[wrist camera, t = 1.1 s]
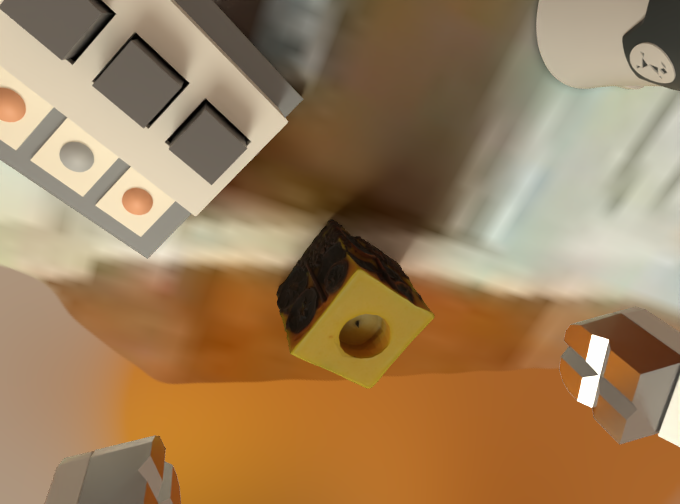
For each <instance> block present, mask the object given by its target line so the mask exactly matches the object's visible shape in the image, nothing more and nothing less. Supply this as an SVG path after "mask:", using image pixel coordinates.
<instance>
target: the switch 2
mask: <svg viewBox="0 0 680 504" xmlns="http://www.w3.org/2000/svg"><path fill="white" fill-rule="evenodd" d="M184 81H185V78H184V77H183V76H181V75H180V74H179V73H178V72H177V71H176V70H175V69H174V68H173V67H172V66H171V65H170V64H169V63H168V62H167V61H166V60H165V59H163V58H162V57H161V56H160V55H159V54H158V53H157V52H156V51H155V50H154V49H153V48H152V47H151V46H150V45H149V44H148V43H147V42H145V41H144V40H143V39H142V38H138V39H135V40H131V41H130V42H129V43H128V45H127V46H126V47H125V48H124V49H123V50H122V51H121V53H120V54H119V55H118V56H117V57H116V58H115V60H114V61H113V62H112V63H111V64H110V65H109V66H108V68H107V69H106V70H105V71H104V72H103V73H102V74H101V76H100V77H99V78H98V79H97V80H96V81H95V82H94V84H93V85H92V86H93V87H94V88H95V89H97V90H98V91H99V92H100V93H101V94H103V95H104V96H105V97H106V98H107V99H109V100H110V101H111V102H112V103H113V104H115V105H116V106H117V107H118V108H119V109H121V110H122V111H123V112H124V113H125V114H127V115H128V116H129V117H130V118H131V119H133V120H134V121H135V122H136V123H137V124H139V125H140V126H141V127H142V128H143V129H144V128H145V127H146V126H147V124H148V123H149V122H150V121H151V120H152V119H153V118H154V117H155V116H156V115H157V114H158V112H159V111H160V110H161V109H162V108H163V107H164V106H165V105H166V104H167V103H168V102H169V100H170V99H171V98H172V97H173V96H174V95H175V94H176V93H177V92H178V91H179V89H180V88H181V87H182V85H183V83H184Z"/></svg>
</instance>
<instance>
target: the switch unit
mask: <svg viewBox="0 0 680 504" xmlns="http://www.w3.org/2000/svg"><path fill="white" fill-rule="evenodd" d="M3 1H4V0H0V4H1V3H2V2H3ZM102 1H103V2H104V3H105V4H106V5H107V6H108V7H110V8H111V9H112V10H113V11H114V12H115V13H116V15H115V16H114V17H113V18H112V20H111V21H110V22H109V23H108V24H107V25H106V27H105V28H104V29H103V30H102V31H101V32H100V34H99V35H98V36H97V37H96V38H95V39H94V41H93V42H92V43H91V44H90V45H89V46H88V48H87V49H86V50H85V51H84V52H83V53H82V55H79V56H75V57H72V58H68V59H65V60H61V59H59V58H58V57H57V56H56V55H55V54H53V53H52V52H51V51H50V50H49V49H47V48H46V47H45V46H44V45H43V44H41V43H40V42H39V41H38V40H37V39H35V38H34V37H33V36H32V35H31V34H29V33H28V32H27V31H26V30H25V29H23V28H22V27H21V26H20V25H19V24H17V23H16V22H15V21H14V20H13V19H11V18H10V17H9V16H8V15H7V14H5V13H4V12H3V11H2V10H1V9H0V160H1V161H3V162H4V163H6V164H7V165H9V166H10V167H12V168H13V169H15V170H16V171H18V172H19V173H21V174H22V175H24V176H25V177H27V178H28V179H30V180H31V181H33V182H34V183H36V184H37V185H39V186H40V187H42V188H43V189H44V190H46V191H47V192H49V193H50V194H52V195H53V196H55V197H56V198H58V199H59V200H61V201H62V202H64V203H65V204H67V205H68V206H70V207H71V208H73V209H74V210H76V211H77V212H79V213H80V214H82V215H83V216H85V217H86V218H88V219H89V220H91V221H92V222H94V223H95V224H97V225H98V226H100V227H101V228H102V229H104V230H105V231H107V232H108V233H110V234H111V235H113V236H114V237H116V238H117V239H119V240H120V241H122V242H123V243H125V244H126V245H128V246H129V247H131V248H132V249H134V250H135V251H137V252H138V253H140V254H141V255H143V256H144V257H146V258H147V259H148V258H149V257H150V256H151V255H152V254H153V253H154V252H155V251H156V250H157V249H158V248H159V247H160V246H161V245H162V243H163V242H164V241H165V240H166V239H167V238H168V237H169V236H170V235H171V234H172V233H173V232H174V231H175V230H176V229H177V228H178V227H179V226H180V225H181V224H182V223H183V222H184V221H185V220H186V219H187V218H188V217H189V216H190V215H191V214H193V215H194V216H195V217H196V216H197V215H198V214H199V213H200V212H201V211H202V210H203V209H204V208H205V207H206V206H207V205H208V203H209V202H210V201H211V200H212V199H213V198H214V197H215V196H216V195H217V194H218V193H219V192H220V191H221V190H222V189H223V188H224V187H225V186H226V185H227V184H228V183H229V182H230V181H231V180H232V179H233V178H234V177H235V176H236V175H237V174H238V173H239V172H240V171H241V170H242V169H243V168H244V167H245V166H246V165H247V164H248V163H249V162H250V161H251V160H252V159H253V157H254V156H255V155H256V154H257V153H258V152H259V151H260V150H261V149H262V148H263V147H264V146H265V145H266V144H267V143H268V142H269V141H270V140H271V139H272V138H273V137H274V136H275V135H276V134H277V133H278V132H279V131H280V130H281V129H282V128H283V127H284V126H285V125H286V124H287V123H288V121H287V119H286V118H285V117H286V116H287V115H288V114H289V113H290V112H291V111H292V110H293V109H294V108H295V107H296V106H297V105H298V104H299V103H300V102H301V101H302V100H303V98H302V97H301V96H300V95H299V94H298V93H297V92H296V91H295V90H294V89H293V88H292V86H291V85H290V84H289V83H288V82H287V81H286V80H285V79H284V78H283V77H282V76H281V74H280V73H279V72H278V71H277V70H276V69H275V68H274V67H273V66H272V65H271V64H270V63H269V61H268V60H267V59H266V58H265V57H264V56H263V55H262V54H261V53H260V52H259V51H258V49H257V48H256V47H255V46H254V45H253V44H252V43H251V42H250V41H249V40H248V39H247V37H246V36H245V35H244V34H243V33H242V32H241V31H240V30H239V29H238V28H237V27H236V26H235V24H234V23H233V22H232V21H231V20H230V19H229V18H228V17H227V16H226V15H225V14H224V12H223V11H222V10H221V9H220V8H219V7H218V6H217V5H216V4H215V3H214V2H213V0H102ZM138 38H142V39H143V40H144V41H145V42H147V43H148V44H149V45H150V46H151V47H152V48H153V49H154V50H155V51H156V52H157V53H158V54H159V55H160V56H161V57H162V58H163V59H165V60H166V61H167V62H168V63H169V64H170V65H171V66H172V67H173V68H174V69H175V70H176V71H177V72H178V73H179V74H180V75H181V76H183V77H184V78H185V81H184V83H183V85H182V87H181V88H180V89H179V91H178V92H177V93H176V94H175V95H174V96H173V97H172V98H171V99H170V100H169V102H168V103H167V104H166V105H165V106H164V107H163V108H162V109H161V110H160V111H159V112H158V114H157V115H156V116H155V117H154V118H153V119H152V120H151V121H150V122H149V123H148V124H147V126H146V127H145V128H144V129H143V128H142V127H141V126H140V125H139V124H137V123H136V122H135V121H134V120H133V119H131V118H130V117H129V116H128V115H127V114H125V113H124V112H123V111H122V110H121V109H119V108H118V107H117V106H116V105H115V104H113V103H112V102H111V101H110V100H109V99H107V98H106V97H105V96H104V95H103V94H101V93H100V92H99V91H98V90H97V89H95V88H94V87H93V86H92V85H93V84H94V82H95V81H96V80H97V79H98V78H99V77H100V76H101V74H102V73H103V72H104V71H105V70H106V69H107V68H108V66H109V65H110V64H111V63H112V62H113V61H114V60H115V58H116V57H117V56H118V55H119V54H120V53H121V51H122V50H123V49H124V48H125V47H126V46H127V45H128V43H129V42H130V41H131V40H135V39H138ZM205 98H206V99H207V100H208V101H209V102H210V103H211V104H212V105H213V106H214V107H215V108H216V109H217V110H219V111H220V112H221V113H222V114H223V115H224V116H225V117H226V118H227V119H228V120H229V121H230V122H231V123H232V124H233V125H234V126H235V127H237V128H238V129H239V130H240V131H241V132H242V133H243V134H244V138H245V142H246V145H247V149H246V150H245V152H244V153H243V154H242V155H241V156H240V157H239V158H238V159H237V160H236V161H235V162H234V163H233V164H232V165H231V166H230V167H229V168H228V169H227V170H226V171H225V172H224V173H223V174H222V175H221V176H220V177H219V178H218V179H217V180H216V181H215V182H214V183H213V184H212V185H211V184H209V183H208V182H207V181H206V180H205V179H203V178H202V177H201V176H200V175H199V174H197V173H196V172H195V171H194V170H193V169H191V168H190V167H189V166H188V165H187V164H185V163H184V162H183V161H182V160H181V159H179V158H178V157H177V156H176V155H175V154H173V153H172V152H171V151H170V150H169V147H170V144H171V141H172V138H173V135H174V132H175V130H176V129H177V128H178V127H179V126H180V125H181V124H182V123H183V122H184V121H185V120H186V119H187V117H188V116H189V115H190V114H191V113H192V112H193V111H194V110H195V109H196V108H197V107H198V106H199V105H200V104H201V102H202V101H203V100H204V99H205Z"/></svg>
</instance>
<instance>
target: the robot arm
mask: <svg viewBox="0 0 680 504" xmlns="http://www.w3.org/2000/svg"><path fill="white" fill-rule="evenodd" d="M536 30H537V41H538V46H539V50H540V53H541V56H542V59H543V61H544V63H545V65H546V67H547V68H548V70H549V71H550V72H551V74H552V75H553V76H554V77H555V78H556V79H558V80H559V81H560V82H562V83H564V84H566V85H568V86H570V87H574V88H580V89H590V88H597V87H606V86H618V87H621V88H625V89H640V88H643V87H644V86H663V87H667V88H670V89H673V90H677V91H680V0H539V4H538V10H537V21H536ZM564 341H565V342H566V344H567V345H568V346H569V347H568V348H567V349H566V351H565V352H564V353H563V355H562V356H561V359H560V367H559V370H560V374H561V377H562V381H563V383H564V384H565V386H566V388H567V390H568V391H569V392H570V393H571V395H572V396H573V397H574V398H575V399H576V400H577V401H579V402H581V403H583V404H586V405H588V406H591V407H592V409H593V415H594V419H595V420H596V421H597V422H598V423H599V424H600V425H601V426H602V427H603V428H604V429H605V430H606V431H607V432H608V433H609V434H610V435H611V436H612V437H613V438H614V439H615V440H616V441H617V442H618V443H619V444H622V443H626V442H629V441H633V440H636V439H640V438H643V437H647V436H650V435H653V434H657V433H659V434H658V436H660V437H662V438H664V439H665V440H667V441H669V442H671V443H673V444H675V445H677V446H679V447H680V332H679V331H677V330H676V329H674V328H673V327H671V326H670V325H668V324H667V323H665V322H664V321H662V320H661V319H659V318H658V317H656V316H655V315H653V314H652V313H650V312H649V311H647V310H646V309H643V308H639V307H632V308H628V309H625V310H621V311H618V312H614V313H612V314H607V315H603V316H599V317H596V318H592V319H589V320H585V321H581V322H578V323H574V324H571V325H570V326H569V327H568V328H567V330H566V332H565V337H564ZM165 449H166V448H165V446H164V444H163V442H162V440H161V438H160V436H152V437H148V438H143V439H139V440H135V441H131V442H127V443H122V444H118V445H114V446H110V447H106V448H102V449H98V450H95V451H92V452H88V453H83V454H79V455H75V456H71V457H67V458H64V459H63V460H62V461H61V463H60V464H59V465H58V467H57V468H56V471H55V474H54V477H53V480H52V483H51V485H50V489H49V492H48V494H47V497H46V500H45V503H44V504H181V498H180V486H179V482H178V479H177V474H176V472H175V470H174V467H173V466H172V465H171V464H169V463H167V462H165V461H164V460H165Z"/></svg>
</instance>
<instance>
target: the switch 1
mask: <svg viewBox="0 0 680 504" xmlns="http://www.w3.org/2000/svg"><path fill="white" fill-rule="evenodd" d="M0 9H1V10H2V11H3V12H4V13H5V14H7V15H8V16H9V17H10V18H11V19H13V20H14V21H15V22H16V23H17V24H19V25H20V26H21V27H22V28H23V29H25V30H26V31H27V32H28V33H29V34H31V35H32V36H33V37H34V38H35V39H37V40H38V41H39V42H40V43H41V44H43V45H44V46H45V47H46V48H47V49H49V50H50V51H51V52H52V53H53V54H55V55H56V56H57V57H58V58H59V59H61V60H65V59H68V58H72V57H75V56H79V55H82V53H83V52H84V51H85V50H86V49H87V48H88V46H89V45H90V44H91V43H92V42H93V41H94V39H95V38H96V37H97V36H98V35H99V34H100V32H101V31H102V30H103V29H104V28H105V27H106V25H107V24H108V23H109V22H110V21H111V20H112V18H113V17H114V16H115V15H116V13H115V12H114V11H113V10H112V9H111V8H110V7H108V6H107V5H106V4H105V3H104V2H103V1H102V0H4V1H3V2H2V3H1V4H0Z"/></svg>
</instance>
